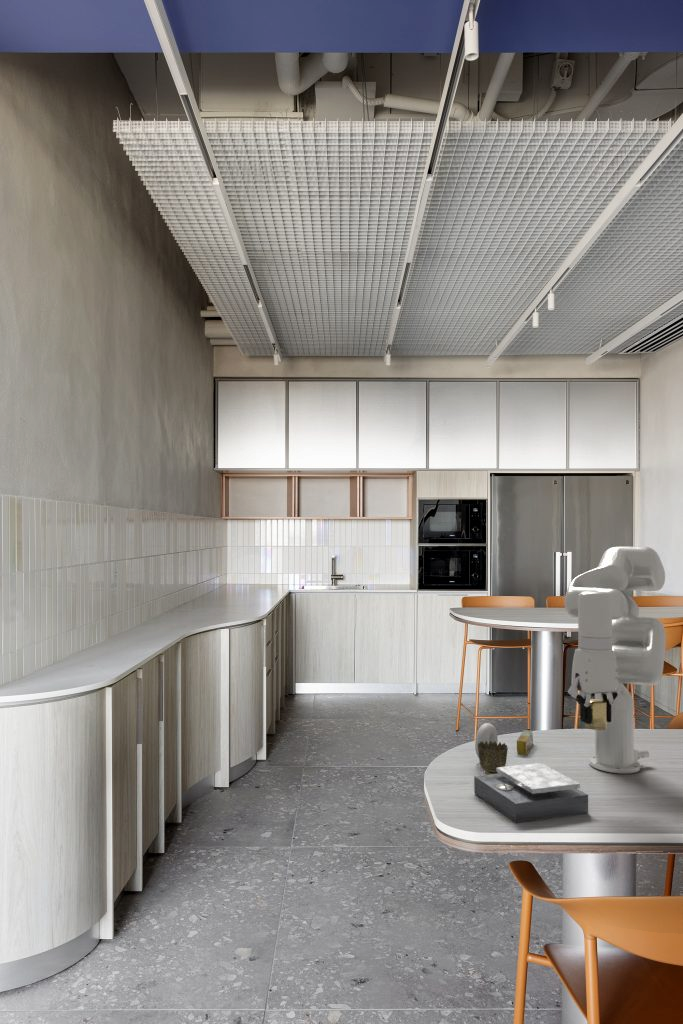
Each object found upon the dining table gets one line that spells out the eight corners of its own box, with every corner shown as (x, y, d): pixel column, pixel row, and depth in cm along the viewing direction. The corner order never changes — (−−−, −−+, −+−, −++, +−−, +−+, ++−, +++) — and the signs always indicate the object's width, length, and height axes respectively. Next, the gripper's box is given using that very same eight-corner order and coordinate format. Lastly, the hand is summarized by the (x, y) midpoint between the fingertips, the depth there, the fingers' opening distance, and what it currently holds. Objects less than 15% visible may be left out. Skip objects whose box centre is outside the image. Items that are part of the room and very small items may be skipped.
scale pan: (540, 767, 169) (540, 762, 169) (579, 788, 155) (579, 783, 155) (496, 771, 166) (496, 767, 166) (532, 793, 151) (532, 789, 151)
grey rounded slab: (485, 767, 185) (485, 728, 185) (473, 764, 187) (472, 726, 187) (499, 757, 193) (499, 720, 193) (487, 755, 195) (487, 718, 195)
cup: (508, 783, 173) (508, 750, 173) (477, 780, 174) (477, 748, 174) (507, 773, 180) (507, 741, 180) (477, 771, 181) (477, 739, 182)
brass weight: (598, 723, 169) (597, 698, 169) (611, 729, 164) (611, 702, 164) (580, 725, 167) (580, 699, 167) (593, 730, 163) (593, 704, 163)
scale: (540, 785, 171) (540, 766, 171) (588, 813, 154) (588, 792, 154) (474, 793, 165) (474, 774, 166) (515, 823, 148) (515, 801, 148)
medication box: (523, 743, 207) (523, 729, 208) (533, 744, 206) (532, 730, 206) (516, 754, 196) (516, 740, 197) (526, 755, 195) (526, 741, 195)
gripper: (614, 639, 172) (615, 715, 172) (554, 643, 167) (555, 720, 167) (636, 644, 165) (637, 722, 165) (574, 647, 160) (575, 728, 160)
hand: (595, 720), depth 166 cm, fingers closed on brass weight, 4 cm apart
